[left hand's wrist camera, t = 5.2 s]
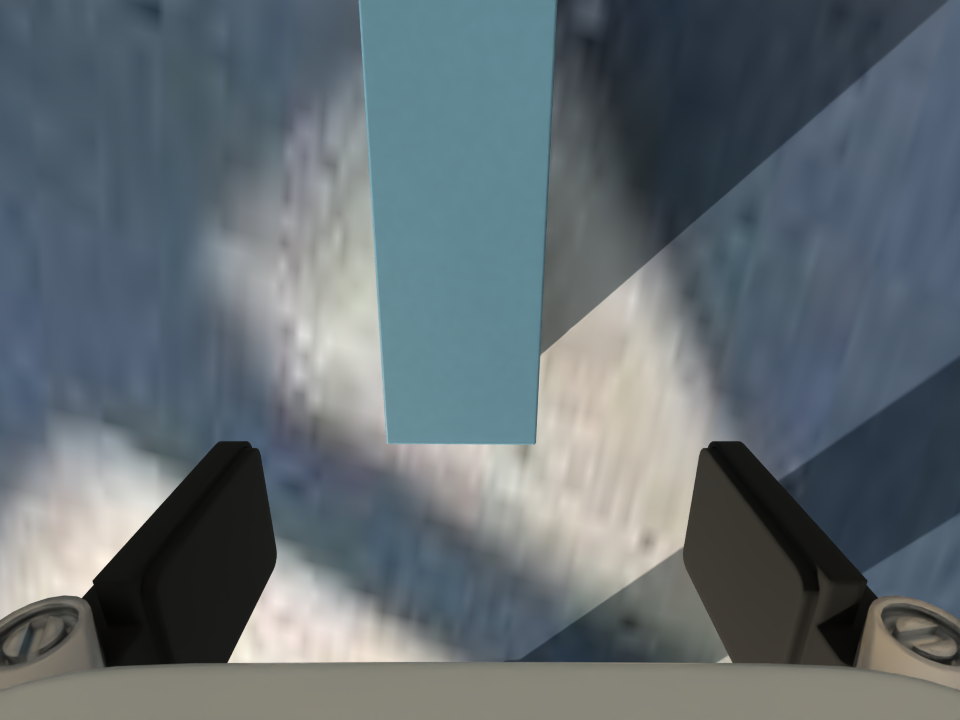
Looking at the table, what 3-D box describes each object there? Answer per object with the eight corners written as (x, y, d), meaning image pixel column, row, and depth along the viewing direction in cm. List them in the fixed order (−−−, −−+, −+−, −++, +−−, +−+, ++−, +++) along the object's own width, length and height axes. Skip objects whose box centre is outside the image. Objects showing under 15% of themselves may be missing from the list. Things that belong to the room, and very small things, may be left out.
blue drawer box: (394, 15, 23) (355, -50, 16) (534, 16, 23) (560, -48, 16) (409, 371, 29) (386, 444, 22) (521, 372, 29) (536, 445, 22)
